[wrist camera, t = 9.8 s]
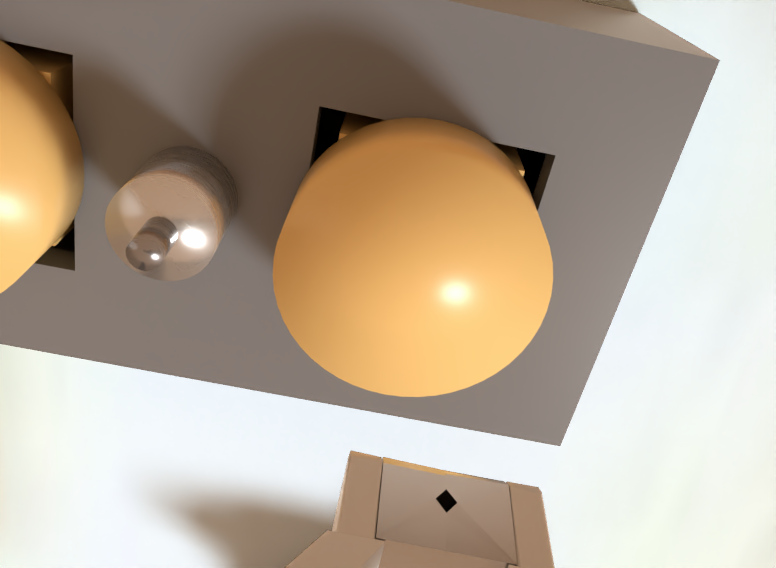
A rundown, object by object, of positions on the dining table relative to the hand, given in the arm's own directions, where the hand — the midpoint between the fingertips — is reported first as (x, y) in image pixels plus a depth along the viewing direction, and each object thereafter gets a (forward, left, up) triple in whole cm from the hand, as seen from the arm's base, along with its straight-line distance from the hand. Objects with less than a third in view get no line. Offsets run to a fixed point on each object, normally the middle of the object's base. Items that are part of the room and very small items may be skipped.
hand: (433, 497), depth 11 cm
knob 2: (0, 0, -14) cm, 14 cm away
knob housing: (+5, -4, -16) cm, 17 cm away
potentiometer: (+5, -4, -9) cm, 11 cm away
